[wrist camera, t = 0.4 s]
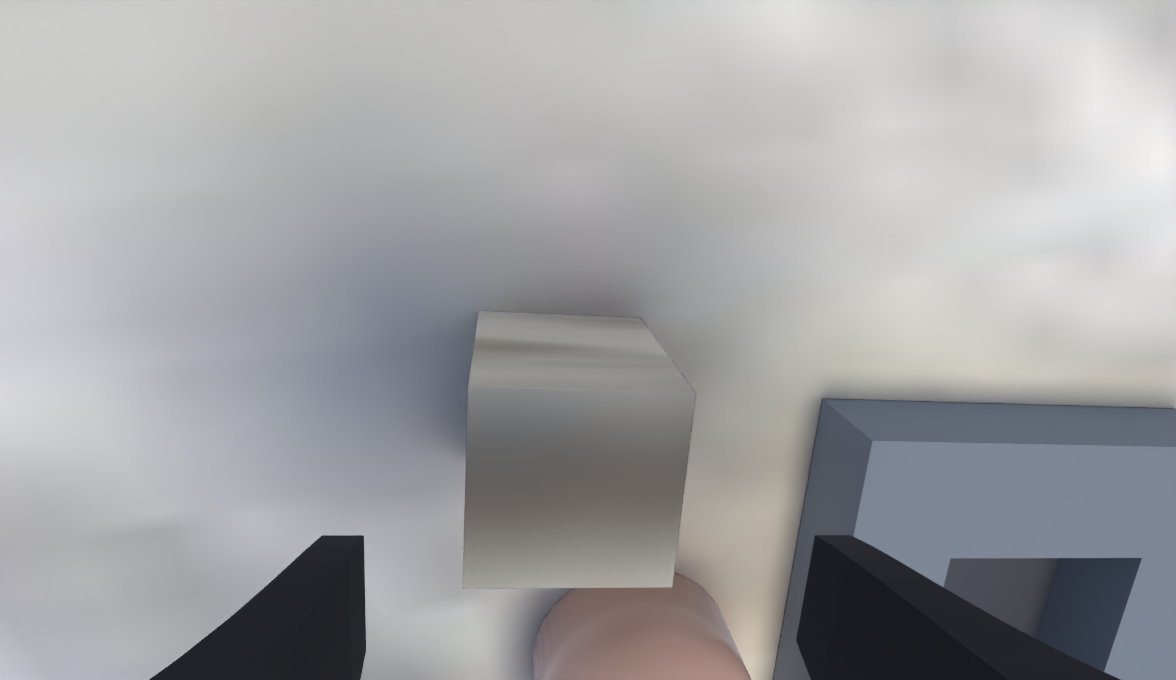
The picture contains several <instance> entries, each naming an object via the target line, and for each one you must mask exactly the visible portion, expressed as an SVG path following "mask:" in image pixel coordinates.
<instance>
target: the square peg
mask: <svg viewBox="0 0 1176 680" xmlns="http://www.w3.org/2000/svg"><path fill="white" fill-rule="evenodd" d="M695 398H696V393H695V391H694V390H693V389H692V387H691V386H690V385H689V383H688V382H687V380H686V379H685V378H684V376H683V375H682V374H681V372H680V371H679V369H678V368H677V367H676V365H675V364H674V363H673V361H672V360H671V358H670V357H669V356H668V354H667V353H666V351H665V350H664V349H663V347H662V346H661V345H660V343H659V342H658V340H657V339H656V338H655V336H654V335H653V334H652V332H651V331H650V329H649V328H648V327H647V325H646V324H645V322H644V321H643V320H642V318H638V317H614V316H591V315H568V314H544V313H521V312H497V311H479V314H478V321H477V328H476V335H475V342H474V349H473V356H472V363H471V370H470V377H469V384H468V406H467V443H466V479H465V516H464V552H463V589H509V588H649V587H672V584H673V576H674V568H675V560H676V552H677V544H678V536H679V528H680V520H681V512H682V504H683V495H684V487H685V479H686V471H687V463H688V455H689V447H690V439H691V431H692V423H693V414H694V406H695Z"/></svg>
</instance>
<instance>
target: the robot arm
mask: <svg viewBox="0 0 1176 680" xmlns="http://www.w3.org/2000/svg"><path fill="white" fill-rule="evenodd" d="M796 642H797V644H798V647H799V650H800V652H801V655H802V658H803V660H804V663H805V666H806V669H807V671H808V674H809V676H810V679H811V680H1120V679H1118V678H1116V677H1114V676H1112V675H1109V674H1107V673H1105V672H1103V671H1101V670H1099V669H1096V668H1094V667H1092V666H1090V665H1088V664H1086V663H1083V662H1081V661H1079V660H1077V659H1075V658H1073V657H1071V656H1069V655H1067V654H1065V653H1063V652H1060V651H1058V650H1056V649H1054V648H1052V647H1050V646H1048V645H1046V644H1045V643H1043V642H1041V641H1039V640H1037V639H1035V638H1033V637H1031V636H1029V635H1028V634H1026V633H1024V632H1022V631H1020V630H1018V629H1016V628H1014V627H1013V626H1011V625H1009V624H1007V623H1005V622H1003V621H1001V620H1000V619H998V618H996V617H994V616H992V615H991V614H989V613H987V612H985V611H983V610H982V609H980V608H978V607H976V606H975V605H973V604H971V603H969V602H968V601H966V600H964V599H962V598H961V597H959V596H957V595H956V594H954V593H952V592H950V591H949V590H947V589H945V588H944V587H942V586H940V585H938V584H937V583H935V582H933V581H932V580H930V579H928V578H927V577H925V576H923V575H922V574H920V573H918V572H916V571H915V570H913V569H911V568H910V567H908V566H906V565H905V564H903V563H901V562H900V561H898V560H896V559H894V558H893V557H891V556H889V555H887V554H886V553H884V552H882V551H880V550H879V549H877V548H875V547H873V546H871V545H869V544H867V543H865V542H864V541H862V540H859V539H857V538H855V537H853V536H851V535H815V537H814V543H813V548H812V554H811V560H810V565H809V571H808V576H807V582H806V588H805V593H804V599H803V604H802V610H801V616H800V621H799V627H798V632H797V638H796ZM365 652H366V628H365V578H364V536H321V537H320V538H319V539H318V540H317V541H315V542H314V543H313V544H312V545H311V546H310V547H309V548H307V549H306V550H305V551H304V552H303V553H302V554H301V555H300V556H299V557H298V558H296V559H295V560H294V561H293V562H292V563H291V564H290V565H289V566H288V567H287V568H286V569H284V570H283V571H282V572H281V573H280V574H279V575H278V576H277V577H276V578H275V579H274V580H272V581H271V582H270V583H269V584H268V585H267V586H266V587H265V588H264V589H262V590H261V591H260V592H259V593H258V594H257V595H256V596H254V597H253V598H252V599H251V600H250V601H249V602H248V603H246V604H245V605H244V606H243V607H242V608H241V609H240V610H238V611H237V612H236V613H235V614H234V615H233V616H232V617H230V618H229V619H228V620H227V621H225V622H224V623H223V624H222V625H220V626H219V627H218V628H217V629H215V630H214V631H213V632H212V633H210V634H209V635H208V636H206V637H205V638H204V639H203V640H201V641H200V642H199V643H198V644H196V645H195V646H194V647H193V648H191V649H190V650H189V651H188V652H186V653H185V654H184V655H183V656H181V657H180V658H179V659H177V660H176V661H175V662H173V663H172V664H170V665H169V666H168V667H166V668H165V669H164V670H162V671H161V672H159V673H158V674H157V675H155V676H154V677H152V678H151V679H149V680H360V678H361V673H362V668H363V662H364V657H365Z"/></svg>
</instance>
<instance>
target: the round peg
mask: <svg viewBox="0 0 1176 680" xmlns="http://www.w3.org/2000/svg"><path fill="white" fill-rule="evenodd" d="M533 669H534V680H751V678H750V676H749V674H748V671H747V669H746V667H745V665H744V662H743V660H742V658H741V656H740V654H739V651H738V649H737V647H736V645H735V643H734V640H733V638H732V636H731V634H730V631H729V629H728V627H727V625H726V623H725V620H724V618H723V616H722V614H721V612H720V609H719V608H718V606H717V604H716V603H715V601H714V600H713V599H712V597H711V596H710V595H709V594H708V593H707V592H706V591H705V590H704V589H703V588H702V587H701V586H699V585H698V584H697V583H695V582H694V581H692V580H690V579H689V578H687V577H685V576H683V575H680V574H678V573H675V572H674V576H673V584H672V587H649V588H573V589H572V590H570V591H569V592H567V593H566V594H565V595H564V596H563V597H562V598H561V599H560V600H559V601H558V602H557V603H556V604H555V605H554V606H553V607H552V609H551V610H550V611H549V612H548V614H547V616H546V617H545V619H544V620H543V622H542V624H541V626H540V628H539V631H538V633H537V637H536V640H535V644H534V651H533Z"/></svg>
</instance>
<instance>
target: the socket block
mask: <svg viewBox="0 0 1176 680" xmlns="http://www.w3.org/2000/svg"><path fill="white" fill-rule="evenodd" d="M815 535H851V536H853V537H855V538H857V539H859V540H862V541H864V542H865V543H867V544H869V545H871V546H873V547H875V548H877V549H879V550H880V551H882V552H884V553H886V554H887V555H889V556H891V557H893V558H894V559H896V560H898V561H900V562H901V563H903V564H905V565H906V566H908V567H910V568H911V569H913V570H915V571H916V572H918V573H920V574H922V575H923V576H925V577H927V578H928V579H930V580H932V581H933V582H935V583H937V584H938V585H940V586H942V587H944V588H945V589H947V590H949V591H950V592H952V593H954V594H956V595H957V596H959V597H961V598H962V599H964V600H966V601H968V602H969V603H971V604H973V605H975V606H976V607H978V608H980V609H982V610H983V611H985V612H987V613H989V614H991V615H992V616H994V617H996V618H998V619H1000V620H1001V621H1003V622H1005V623H1007V624H1009V625H1011V626H1013V627H1014V628H1016V629H1018V630H1020V631H1022V632H1024V633H1026V634H1028V635H1029V636H1031V637H1033V638H1035V639H1037V640H1039V641H1041V642H1043V643H1045V644H1046V645H1048V646H1050V647H1052V648H1054V649H1056V650H1058V651H1060V652H1063V653H1065V654H1067V655H1069V656H1071V657H1073V658H1075V659H1077V660H1079V661H1081V662H1083V663H1086V664H1088V665H1090V666H1092V667H1094V668H1096V669H1099V670H1101V671H1103V672H1105V673H1107V674H1109V675H1112V676H1114V677H1116V678H1118V679H1120V680H1176V409H1166V408H1131V407H1096V406H1060V405H1025V404H990V403H955V402H920V401H884V400H849V399H822V405H821V411H820V416H819V422H818V428H817V433H816V439H815V444H814V450H813V456H812V461H811V467H810V473H809V478H808V484H807V490H806V495H805V501H804V507H803V512H802V518H801V524H800V529H799V535H798V541H797V546H796V552H795V558H794V563H793V569H792V575H791V580H790V586H789V592H788V597H787V603H786V609H785V614H784V620H783V626H782V631H781V637H780V643H779V648H778V654H777V660H776V665H775V671H774V677H773V680H811V679H810V676H809V674H808V671H807V669H806V666H805V663H804V660H803V658H802V655H801V652H800V650H799V647H798V644H797V642H796V638H797V632H798V627H799V621H800V616H801V610H802V604H803V599H804V593H805V588H806V582H807V576H808V571H809V565H810V560H811V554H812V548H813V543H814V537H815Z"/></svg>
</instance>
